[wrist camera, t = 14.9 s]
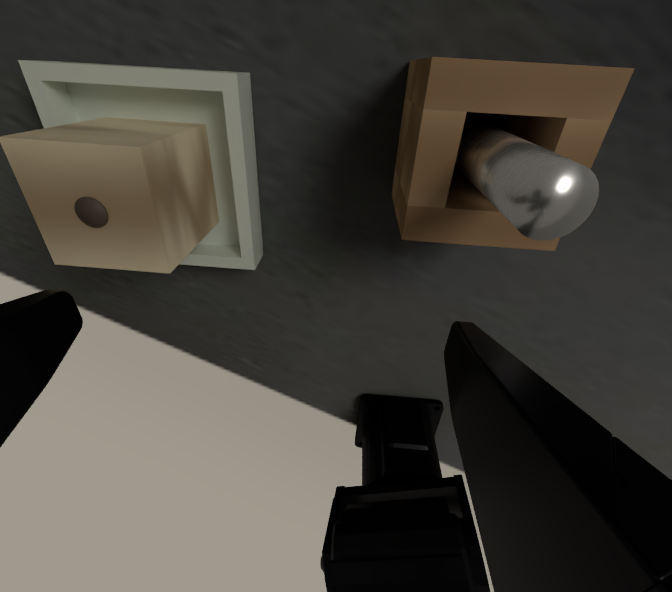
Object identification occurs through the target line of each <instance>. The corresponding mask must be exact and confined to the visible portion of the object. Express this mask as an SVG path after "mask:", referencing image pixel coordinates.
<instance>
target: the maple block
mask: <svg viewBox="0 0 672 592" xmlns="http://www.w3.org/2000/svg"><path fill="white" fill-rule="evenodd" d="M0 143H1V145H2V147H3V150H4V152H5V154H6V156H7V158H8V161H9V163H10V165H11V167H12V170H13V172H14V174H15V176H16V179H17V181H18V183H19V185H20V188H21V190H22V192H23V194H24V197H25V199H26V201H27V203H28V205H29V208H30V210H31V212H32V214H33V217H34V219H35V221H36V223H37V226H38V228H39V230H40V232H41V235H42V237H43V239H44V241H45V244H46V246H47V248H48V250H49V252H50V255H51V257H52V259H53V261H54V264H57V265H69V266H82V267H94V268H107V269H119V270H132V271H144V272H157V273H169V274H170V273H171V272H172V271H173V270H174V269H175V268H176V267H177V266H178V265H179V264H180V263H181V262H182V260H183V259H184V258H185V257H186V256H187V255H188V254H189V253H190V252H191V251H192V250H193V249H194V248H195V247H196V246H197V245H198V244H199V242H200V241H201V240H202V239H203V238H204V237H205V236H206V235H207V234H208V233H209V232H210V231H211V230H212V229H213V228H214V227H215V226H216V224H217V223H218V222H219V216H218V208H217V201H216V194H215V187H214V180H213V173H212V165H211V158H210V151H209V144H208V137H207V129H206V124H197V123H183V122H168V121H154V120H139V119H125V118H110V117H104V118H98V119H93V120H87V121H82V122H77V123H71V124H66V125H60V126H55V127H50V128H44V129H39V130H33V131H28V132H23V133H17V134H12V135H6V136H1V137H0Z"/></svg>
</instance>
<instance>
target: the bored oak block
mask: <svg viewBox="0 0 672 592" xmlns="http://www.w3.org/2000/svg"><path fill="white" fill-rule="evenodd" d="M634 69H635V68H618V67H601V66H583V65H566V64H548V63H531V62H513V61H496V60H478V59H461V58H443V57H429V58H423V59H418V60H412V61H410V63H409V70H408V77H407V85H406V92H405V99H404V106H403V114H402V121H401V128H400V135H399V143H398V150H397V157H396V165H395V172H394V179H393V186H392V194H391V195H392V199H393V204H394V208H395V213H396V217H397V221H398V226H399V230H400V235H401V239H402V240H410V241H423V242H437V243H451V244H465V245H479V246H493V247H507V248H521V249H535V250H549V251H555V249H556V247H557V244H558V242H559V240H560V238H556V239H552V240H545V241H541V240H534V239H530V238H528V237H526V236H524V235H522V234H521V233H520V232H519V231H518V230H517V229H516V228H515V227H514V226H513V225H512V224H511V223H510V222H509V221H508V220H507V218H506V217H505V216H504V215H503V214H502V213H501V212H500V211H499V210H498V209H497V208H496V207H495V206H494V205H493V204H492V203H491V202H490V201H489V200H488V199H487V198H486V197H485V196H484V195H483V194H482V193H481V192H480V191H479V190H478V189H477V187H476V186H475V185H474V184H473V183H472V182H471V181H470V180H469V179H468V178H467V177H466V176H465V175H464V174H463V173H462V172H453V170H454V166H455V162H456V157H457V153H458V149H459V144H460V140H461V135H462V131H463V127H464V122H465V118H466V113H467V112H477V113H493V114H501V115H500V118H499V122H498V125H497V128H499V129H501V130H504V131H506V132H508V133H511V134H513V135H515V136H517V137H520V138H522V139H524V140H527V141H529V142H531V143H534V144H536V145H538V146H541V147H543V148H545V149H547V150H550V151H552V152H554V153H557V154H559V155H561V156H564V157H566V158H568V159H571V160H573V161H575V162H577V163H580V164H582V165H584V166H586V167H588V168H589V169H591V167H592V164H593V162H594V160H595V158H596V155H597V153H598V151H599V149H600V146H601V144H602V142H603V139H604V137H605V135H606V133H607V130H608V128H609V126H610V123H611V121H612V119H613V117H614V114H615V112H616V110H617V107H618V105H619V103H620V101H621V98H622V96H623V94H624V91H625V89H626V87H627V85H628V82H629V80H630V78H631V76H632V73H633V71H634Z"/></svg>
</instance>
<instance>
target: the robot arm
mask: <svg viewBox="0 0 672 592" xmlns="http://www.w3.org/2000/svg"><path fill="white" fill-rule="evenodd" d="M82 323H83V321H82V317H81V315H80V312H79V310H78V308H77V306H76V303H75V301H74V299H73V297H72V295H71V294H70V293H69V292H67V291H64V290H51V289H50V290H44V291H41V292H38V293H35V294H32V295H29V296H25V297H22V298H19V299H16V300H13V301H10V302H6V303H3V304H0V447H1V446H2V444H3V443H4V442H5V440H6V439H7V437H8V436H9V435H10V433H11V432H12V431H13V430H14V428H15V427H16V426H17V424H18V423H19V422H20V420H21V419H22V418H23V416H24V415H25V413H26V412H27V411H28V409H29V408H30V407H31V405H32V404H33V403H34V401H35V400H36V399H37V397H38V396H39V395H40V393H41V392H42V391H43V389H44V388H45V386H46V385H47V384H48V382H49V380H50V379H51V377H52V376H53V374H54V373H55V371H56V369H57V368H58V366H59V364H60V363H61V361H62V360H63V358H64V356H65V355H66V353H67V351H68V350H69V348H70V346H71V345H72V343H73V341H74V340H75V338H76V336H77V335H78V333H79V331H80V330H81V328H82ZM444 360H445V369H446V377H447V385H448V393H449V401H450V409H451V416H452V421H453V426H454V430H455V434H456V438H457V442H458V446H459V450H460V454H461V458H462V462H463V466H464V471H465V475H466V479H467V483H468V487H469V491H470V495H471V499H472V503H473V507H474V511H475V515H476V519H477V523H478V527H479V531H480V535H481V540H482V543H483V548H484V552H485V556H486V560H487V564H488V568H489V572H490V576H491V580H492V584H493V588H494V592H672V480H671V479H669V478H668V477H667V476H665V475H664V474H663V473H662V472H660V471H659V470H658V469H656V468H655V467H654V466H652V465H651V464H650V463H649V462H647V461H646V460H645V459H643V458H642V457H641V456H640V455H638V454H637V453H636V452H634V451H633V450H632V449H631V448H629V447H628V446H627V445H626V444H624V443H623V442H622V441H621V440H619V439H618V438H617V437H612V434H611V433H610V432H609V431H608V430H607V429H605V428H604V427H603V426H602V425H600V424H599V423H598V422H597V421H595V420H594V419H593V418H592V417H590V416H589V415H588V414H587V413H585V412H584V411H583V410H582V409H580V408H579V407H578V406H577V405H575V404H574V403H573V402H572V401H570V400H569V399H568V398H567V397H565V396H564V395H563V394H562V393H560V392H559V391H558V390H556V389H555V388H554V387H553V386H551V385H550V384H549V383H548V382H546V381H545V380H544V379H543V378H541V377H540V376H539V375H538V374H536V373H535V372H534V371H533V370H531V369H530V368H529V367H528V366H526V365H525V364H524V363H523V362H521V361H520V360H519V359H518V358H516V357H515V356H514V355H513V354H511V353H510V352H509V351H508V350H506V349H505V348H504V347H503V346H501V345H500V344H499V343H498V342H496V341H495V340H494V339H493V338H491V337H490V336H489V335H487V334H486V333H485V332H484V331H482V330H481V329H480V328H479V327H477V326H476V325H475V324H473V323H471V322H460V321H456V322H454V323H453V324H452V326H451V329H450V333H449V336H448V339H447V343H446V346H445V350H444ZM366 400H367V401H366ZM442 412H443V403H442V402H441V401H439V400H431V399H419V398H407V397H395V396H383V395H371V394H364V395H362V396H361V398H360V406H359V413H358V421H357V429H356V436H355V445H356V446H357V447H360V448H362V486H354V487H345V486H339V487H337V488H336V492H335V497H334V499H333V503H332V507H331V512H330V517H329V522H328V526H327V531H326V536H325V541H324V546H323V550H322V557H321V569H322V570H323V572H324V574H325V582H326V588H327V592H490V588H489V584H488V579H487V575H486V570H485V566H484V562H483V557H482V553H481V549H480V545H479V541H478V537H477V533H476V529H475V525H474V521H473V517H472V514H471V509H470V505H469V501H468V497H467V494H466V490H465V486H464V482H463V478H462V475H454V477H447V478H442V474H441V469H440V464H439V459H438V453H437V448H436V443H435V438H434V436H435V433H436V430H437V427H438V424H439V421H440V418H441V415H442Z"/></svg>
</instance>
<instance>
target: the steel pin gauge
mask: <svg viewBox="0 0 672 592" xmlns="http://www.w3.org/2000/svg"><path fill="white" fill-rule="evenodd" d="M455 166H456V167H457V168H458V169H459V170H460V171H461V172H462V173H463V174H464V175H465V176H466V177H467V178H468V179H469V180H470V181H471V182H472V183H473V184H474V185H475V186H476V187H477V189H478V190H479V191H480V192H481V193H482V194H483V195H484V196H485V197H486V198H487V199H488V200H489V201H490V202H491V203H492V204H493V205H494V206H495V207H496V208H497V209H498V210H499V211H500V212H501V213H502V214H503V215H504V216H505V217H506V218H507V220H508V221H509V222H510V223H511V224H512V225H513V226H514V227H515V228H516V229H517V230H518V231H519V232H520V233H521V234H522V235H524V236H526V237H528V238H530V239H534V240H541V241H545V240H552V239H556V238H560V237H562V236H564V235H567V234H568V233H570V232H572V231H573V230H575V229H576V228H578V227H579V226H580V225H581V224H582V223H583V222H584V221H585V220H586V219H587V218H588V217H589V215H590V214H591V213H592V211H593V209H594V207H595V205H596V203H597V199H598V195H599V185H598V180H597V178H596V176H595V174H594V173H593V172H592V171H591V170H590V169H589V168H588V167H586V166H584V165H582V164H580V163H577V162H575V161H573V160H571V159H568V158H566V157H564V156H561V155H559V154H557V153H554V152H552V151H550V150H547V149H545V148H543V147H541V146H538V145H536V144H534V143H531V142H529V141H527V140H524V139H522V138H520V137H517V136H515V135H513V134H511V133H508V132H506V131H504V130H501V129H499V128H497V127H494V126H492V125H490V124H487V123H485V122H483V121H481V120H478V119H476V118H474V117H471V116H468V115H466V118H465V122H464V127H463V131H462V135H461V140H460V144H459V149H458V153H457V157H456V162H455Z"/></svg>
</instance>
